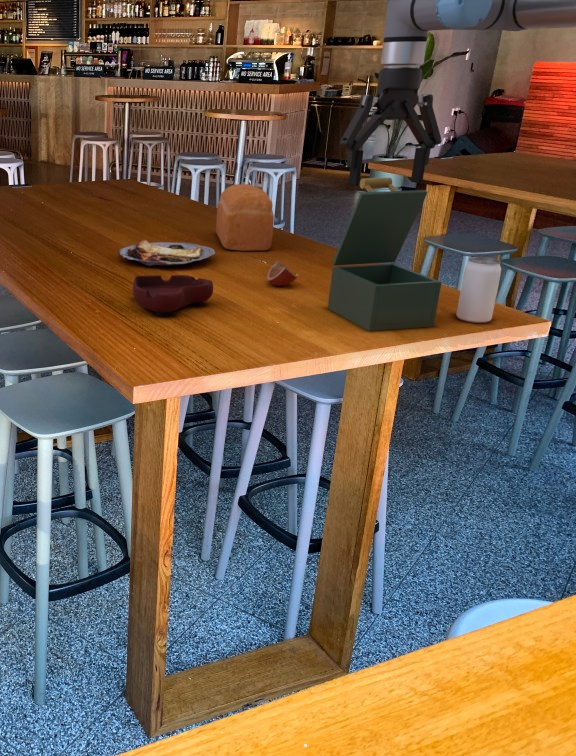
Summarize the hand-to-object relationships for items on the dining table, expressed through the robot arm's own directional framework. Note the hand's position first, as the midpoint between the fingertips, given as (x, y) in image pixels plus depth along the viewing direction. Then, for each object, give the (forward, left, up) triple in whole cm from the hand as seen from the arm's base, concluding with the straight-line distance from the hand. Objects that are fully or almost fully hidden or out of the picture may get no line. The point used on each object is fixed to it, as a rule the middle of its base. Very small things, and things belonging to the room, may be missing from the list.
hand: (385, 183), depth 155 cm
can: (-9, -18, -26) cm, 33 cm away
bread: (+72, -3, -26) cm, 76 cm away
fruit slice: (+24, +8, -26) cm, 36 cm away
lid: (0, 0, -9) cm, 9 cm away
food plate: (+55, +26, -26) cm, 66 cm away
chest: (-4, 0, -26) cm, 26 cm away
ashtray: (+14, +40, -26) cm, 50 cm away
